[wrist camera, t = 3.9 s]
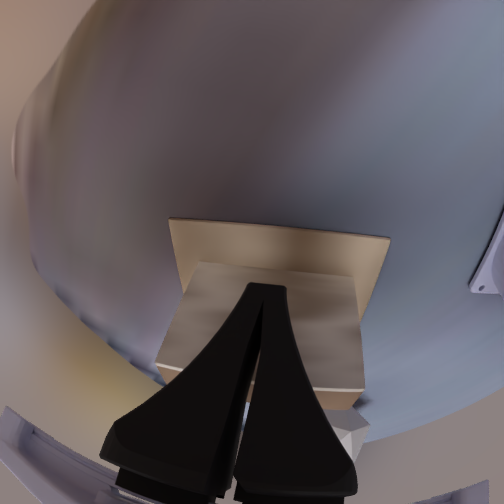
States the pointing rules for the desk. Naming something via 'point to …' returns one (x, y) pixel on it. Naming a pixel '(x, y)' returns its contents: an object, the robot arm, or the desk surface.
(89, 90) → the desk surface
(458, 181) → the desk surface
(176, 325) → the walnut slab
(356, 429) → the die
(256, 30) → the desk surface
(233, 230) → the light wood board
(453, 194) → the desk surface
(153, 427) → the robot arm
